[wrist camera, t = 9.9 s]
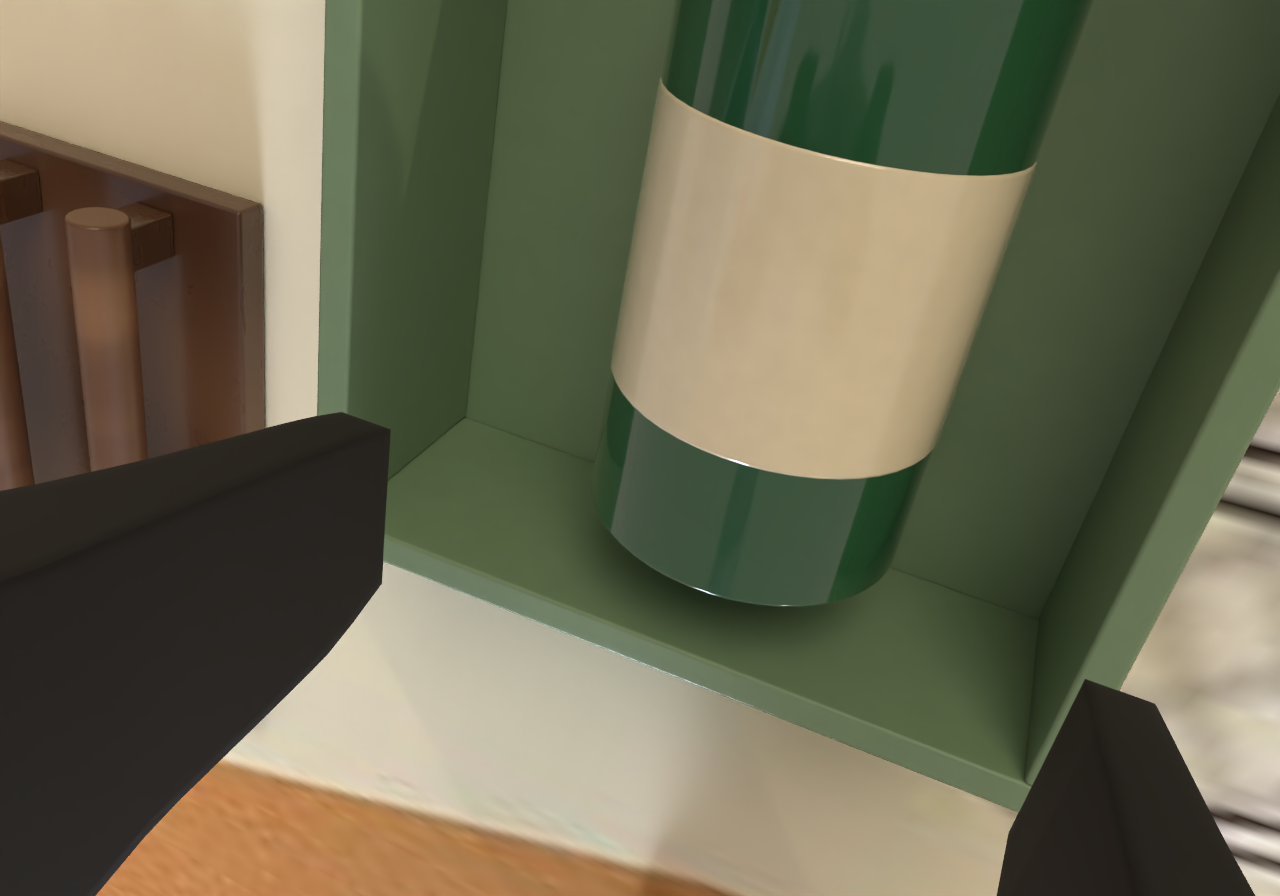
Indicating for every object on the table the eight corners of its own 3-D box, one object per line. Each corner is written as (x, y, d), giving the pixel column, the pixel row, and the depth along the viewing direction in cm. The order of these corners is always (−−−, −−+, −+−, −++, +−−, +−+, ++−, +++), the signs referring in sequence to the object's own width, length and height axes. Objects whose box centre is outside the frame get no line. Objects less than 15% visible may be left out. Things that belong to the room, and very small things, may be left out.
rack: (268, 713, 31) (195, 784, 28) (43, 613, 33) (-43, 671, 30) (264, 203, 23) (165, 240, 21) (-28, 110, 25) (-152, 134, 23)
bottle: (887, 464, 21) (908, 643, 16) (615, 404, 21) (559, 565, 16) (1190, -436, 14) (1374, -568, 9) (780, -513, 14) (761, -677, 9)
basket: (1060, 635, 21) (1048, 826, 17) (453, 420, 24) (313, 535, 20) (1674, -653, 12) (1997, -961, 7) (562, -738, 15) (342, -991, 10)
